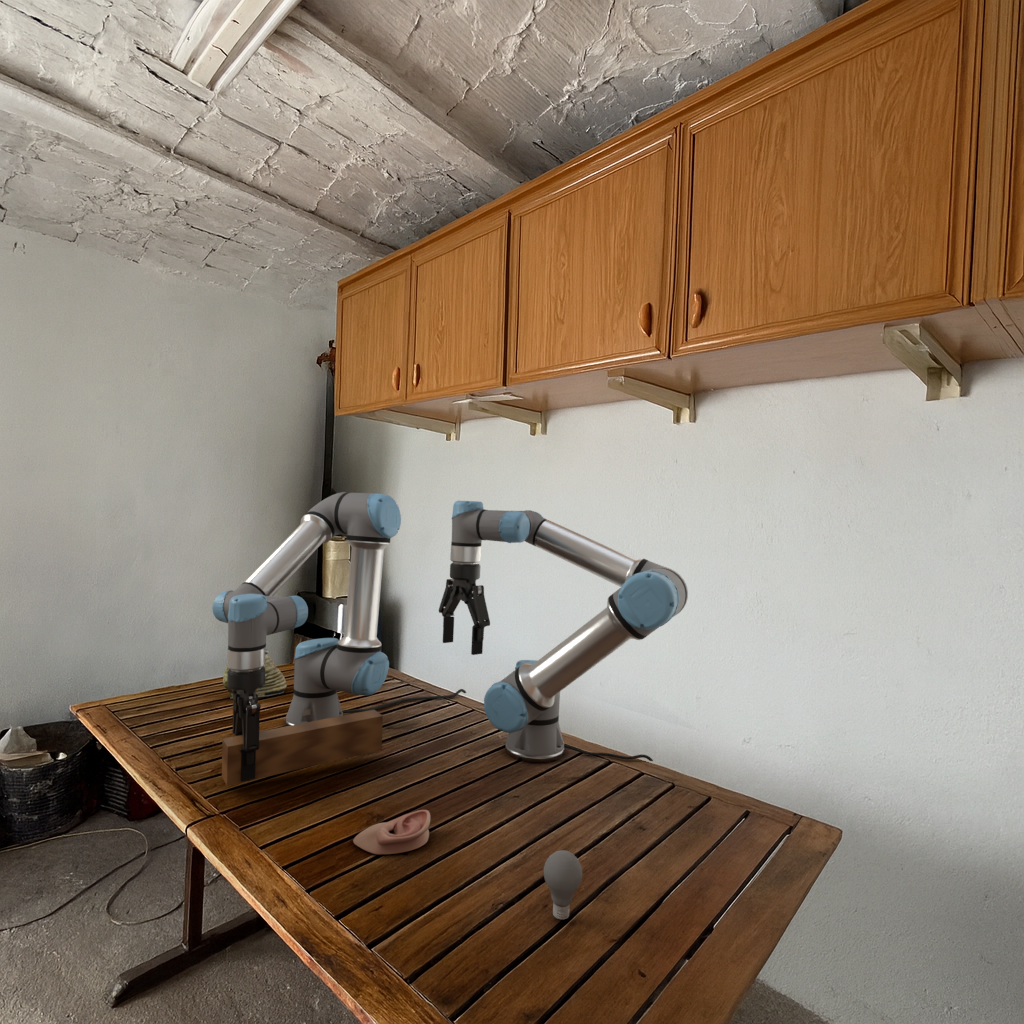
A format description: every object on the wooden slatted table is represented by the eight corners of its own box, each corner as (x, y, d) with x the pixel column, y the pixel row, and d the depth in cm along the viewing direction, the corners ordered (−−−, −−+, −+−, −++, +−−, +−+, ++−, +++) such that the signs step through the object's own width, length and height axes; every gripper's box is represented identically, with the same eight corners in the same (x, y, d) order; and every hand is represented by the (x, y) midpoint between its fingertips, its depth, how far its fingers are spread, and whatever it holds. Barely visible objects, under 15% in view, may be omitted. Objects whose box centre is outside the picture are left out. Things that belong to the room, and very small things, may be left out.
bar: (227, 786, 132) (227, 746, 132) (221, 776, 136) (222, 738, 136) (381, 749, 153) (382, 715, 152) (373, 742, 157) (374, 709, 156)
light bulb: (539, 904, 101) (542, 842, 101) (576, 904, 101) (579, 842, 101) (544, 930, 95) (547, 864, 95) (583, 929, 95) (586, 864, 95)
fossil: (218, 695, 195) (220, 647, 195) (278, 685, 208) (279, 640, 207) (228, 703, 189) (230, 653, 188) (289, 692, 201) (290, 645, 201)
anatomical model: (346, 827, 114) (372, 798, 125) (345, 849, 114) (372, 818, 125) (416, 839, 111) (436, 808, 122) (415, 861, 111) (436, 828, 123)
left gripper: (277, 675, 130) (274, 786, 131) (254, 655, 145) (252, 755, 146) (238, 681, 126) (236, 796, 127) (218, 659, 140) (216, 762, 141)
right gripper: (507, 568, 149) (503, 657, 150) (452, 557, 169) (449, 636, 170) (480, 569, 145) (476, 661, 145) (427, 558, 165) (424, 639, 165)
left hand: (244, 774), depth 136 cm, fingers closed on bar, 5 cm apart
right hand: (461, 648), depth 157 cm, fingers open, 13 cm apart
